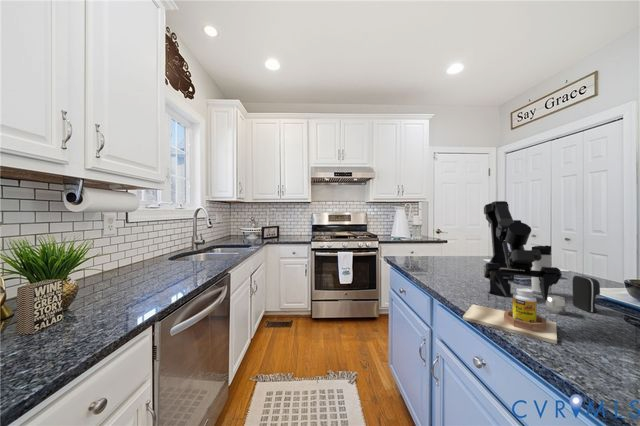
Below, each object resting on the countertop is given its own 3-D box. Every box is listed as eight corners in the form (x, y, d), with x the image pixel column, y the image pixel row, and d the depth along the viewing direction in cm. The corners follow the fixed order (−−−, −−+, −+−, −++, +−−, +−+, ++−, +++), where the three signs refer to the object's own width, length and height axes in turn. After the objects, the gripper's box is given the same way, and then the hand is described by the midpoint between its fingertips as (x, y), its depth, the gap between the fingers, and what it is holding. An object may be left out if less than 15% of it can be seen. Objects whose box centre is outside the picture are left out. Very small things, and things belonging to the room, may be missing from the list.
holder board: (462, 319, 80) (462, 310, 80) (472, 306, 90) (472, 298, 90) (556, 344, 65) (556, 332, 65) (556, 325, 75) (556, 315, 75)
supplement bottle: (511, 323, 75) (512, 289, 75) (513, 317, 79) (513, 285, 79) (536, 329, 71) (536, 293, 71) (536, 322, 75) (537, 289, 75)
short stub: (544, 311, 86) (544, 297, 86) (546, 307, 89) (546, 293, 89) (565, 316, 82) (564, 301, 82) (566, 311, 85) (565, 297, 85)
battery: (602, 313, 84) (602, 279, 84) (589, 313, 84) (589, 279, 84) (583, 305, 91) (583, 274, 90) (571, 305, 91) (571, 274, 91)
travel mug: (556, 295, 101) (556, 246, 101) (540, 295, 101) (540, 246, 101) (543, 290, 107) (543, 244, 107) (527, 290, 108) (527, 244, 107)
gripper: (485, 238, 82) (492, 280, 72) (559, 240, 74) (578, 288, 65) (481, 257, 90) (487, 298, 80) (548, 262, 82) (563, 307, 72)
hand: (525, 297), depth 74 cm, fingers open, 9 cm apart
